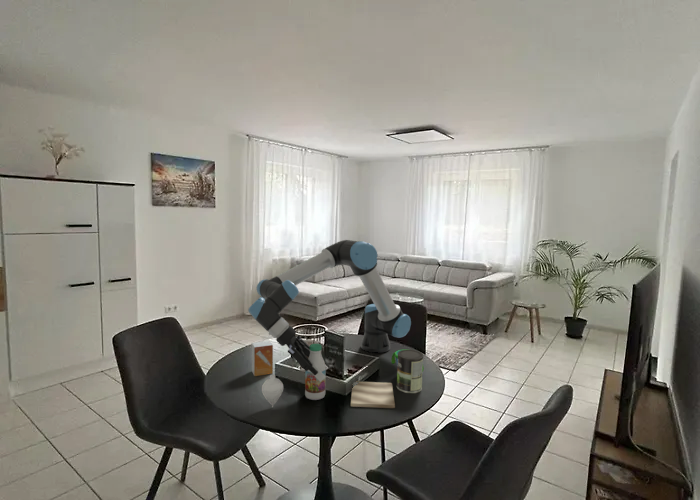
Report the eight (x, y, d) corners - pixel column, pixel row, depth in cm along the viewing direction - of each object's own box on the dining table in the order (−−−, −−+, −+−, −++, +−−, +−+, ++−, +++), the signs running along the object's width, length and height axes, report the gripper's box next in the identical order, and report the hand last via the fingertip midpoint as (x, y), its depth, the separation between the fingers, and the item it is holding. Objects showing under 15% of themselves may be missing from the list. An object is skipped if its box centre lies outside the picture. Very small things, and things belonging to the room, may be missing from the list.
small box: (254, 376, 163) (254, 347, 162) (251, 371, 169) (251, 342, 167) (273, 373, 166) (273, 344, 165) (269, 368, 172) (269, 340, 171)
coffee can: (397, 393, 151) (398, 358, 149) (395, 381, 161) (396, 348, 160) (423, 394, 150) (425, 359, 149) (420, 382, 160) (421, 349, 159)
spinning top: (278, 400, 143) (278, 369, 142) (286, 409, 137) (286, 377, 136) (258, 405, 139) (258, 373, 138) (266, 415, 133) (266, 381, 132)
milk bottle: (304, 391, 150) (304, 342, 148) (323, 390, 152) (324, 341, 150) (306, 401, 143) (306, 349, 141) (326, 399, 144) (327, 348, 142)
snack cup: (385, 373, 169) (385, 350, 168) (401, 367, 176) (402, 345, 175) (412, 385, 157) (412, 361, 156) (428, 379, 164) (429, 356, 163)
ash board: (352, 384, 158) (352, 381, 158) (391, 385, 157) (391, 382, 157) (350, 406, 140) (350, 403, 140) (394, 408, 139) (394, 405, 139)
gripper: (281, 330, 156) (320, 370, 157) (268, 348, 136) (313, 393, 137) (294, 318, 155) (333, 358, 156) (283, 334, 135) (328, 379, 136)
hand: (324, 374), depth 146 cm, fingers closed on milk bottle, 7 cm apart
